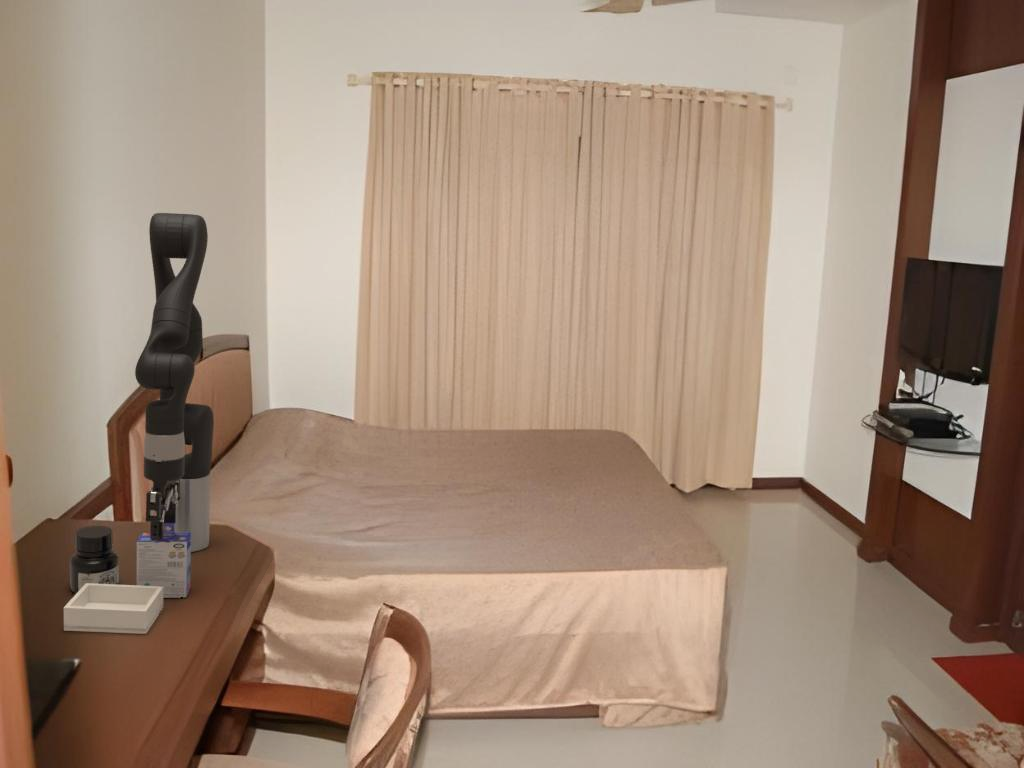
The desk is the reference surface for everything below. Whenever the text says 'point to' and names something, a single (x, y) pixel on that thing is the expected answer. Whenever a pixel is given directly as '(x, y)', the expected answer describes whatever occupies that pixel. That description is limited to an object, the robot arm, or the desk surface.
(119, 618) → the tray
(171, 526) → the ink cartridge box
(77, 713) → the desk surface
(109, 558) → the ink bottle
